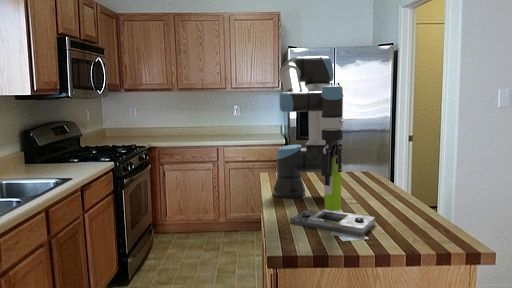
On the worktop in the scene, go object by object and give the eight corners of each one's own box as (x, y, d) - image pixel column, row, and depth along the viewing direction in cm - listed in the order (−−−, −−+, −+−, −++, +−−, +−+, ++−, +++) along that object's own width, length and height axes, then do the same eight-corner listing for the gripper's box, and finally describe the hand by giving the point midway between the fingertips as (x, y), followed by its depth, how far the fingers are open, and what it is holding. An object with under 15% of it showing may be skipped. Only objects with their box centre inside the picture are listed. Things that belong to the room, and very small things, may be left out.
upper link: (307, 226, 148) (307, 216, 148) (323, 216, 160) (323, 207, 159) (362, 236, 137) (362, 226, 137) (374, 224, 148) (374, 215, 148)
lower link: (289, 222, 153) (289, 217, 152) (305, 213, 164) (305, 208, 163) (341, 232, 141) (341, 226, 141) (355, 221, 152) (355, 215, 152)
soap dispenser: (320, 206, 152) (320, 154, 149) (338, 206, 152) (338, 153, 150) (324, 211, 146) (324, 156, 143) (342, 210, 147) (343, 156, 144)
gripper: (331, 132, 136) (331, 199, 139) (351, 126, 151) (350, 187, 154) (311, 131, 140) (311, 196, 143) (332, 126, 155) (332, 185, 159)
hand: (331, 191), depth 149 cm, fingers closed on soap dispenser, 6 cm apart
